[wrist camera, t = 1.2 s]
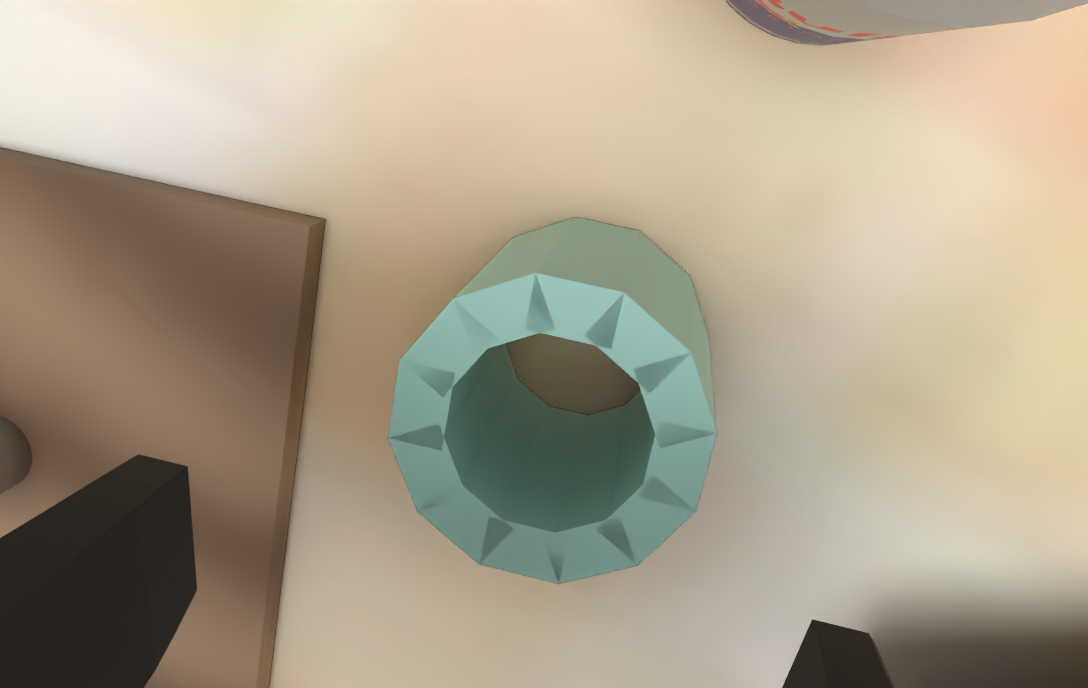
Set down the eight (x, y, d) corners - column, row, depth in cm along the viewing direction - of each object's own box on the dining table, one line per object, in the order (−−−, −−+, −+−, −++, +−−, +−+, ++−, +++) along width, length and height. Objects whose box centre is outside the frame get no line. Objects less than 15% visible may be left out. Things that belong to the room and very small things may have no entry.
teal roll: (673, 475, 23) (668, 611, 17) (448, 421, 23) (372, 538, 18) (730, 250, 21) (747, 319, 16) (487, 197, 22) (416, 246, 16)
